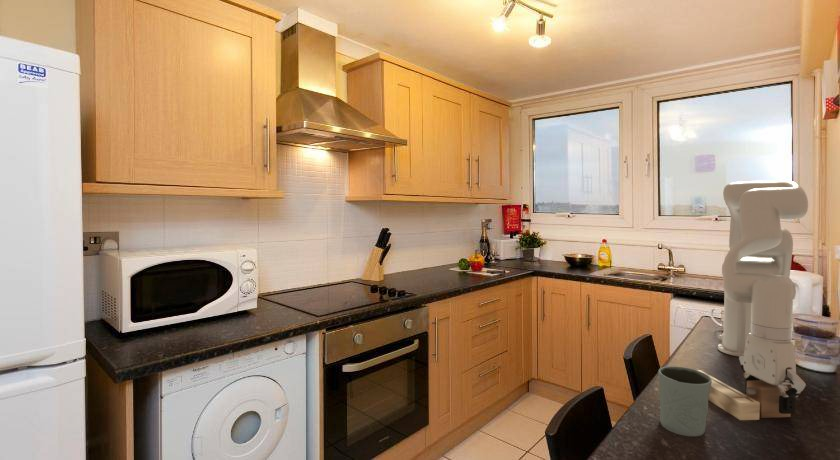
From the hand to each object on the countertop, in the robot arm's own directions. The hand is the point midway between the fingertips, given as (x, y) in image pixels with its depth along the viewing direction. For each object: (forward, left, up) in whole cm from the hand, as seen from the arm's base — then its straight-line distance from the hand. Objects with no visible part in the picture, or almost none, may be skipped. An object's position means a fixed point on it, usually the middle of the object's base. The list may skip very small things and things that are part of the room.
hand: (768, 403), depth 104 cm
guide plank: (-7, -7, -2) cm, 10 cm away
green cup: (+5, -24, -2) cm, 25 cm away
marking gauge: (0, 0, -2) cm, 2 cm away
